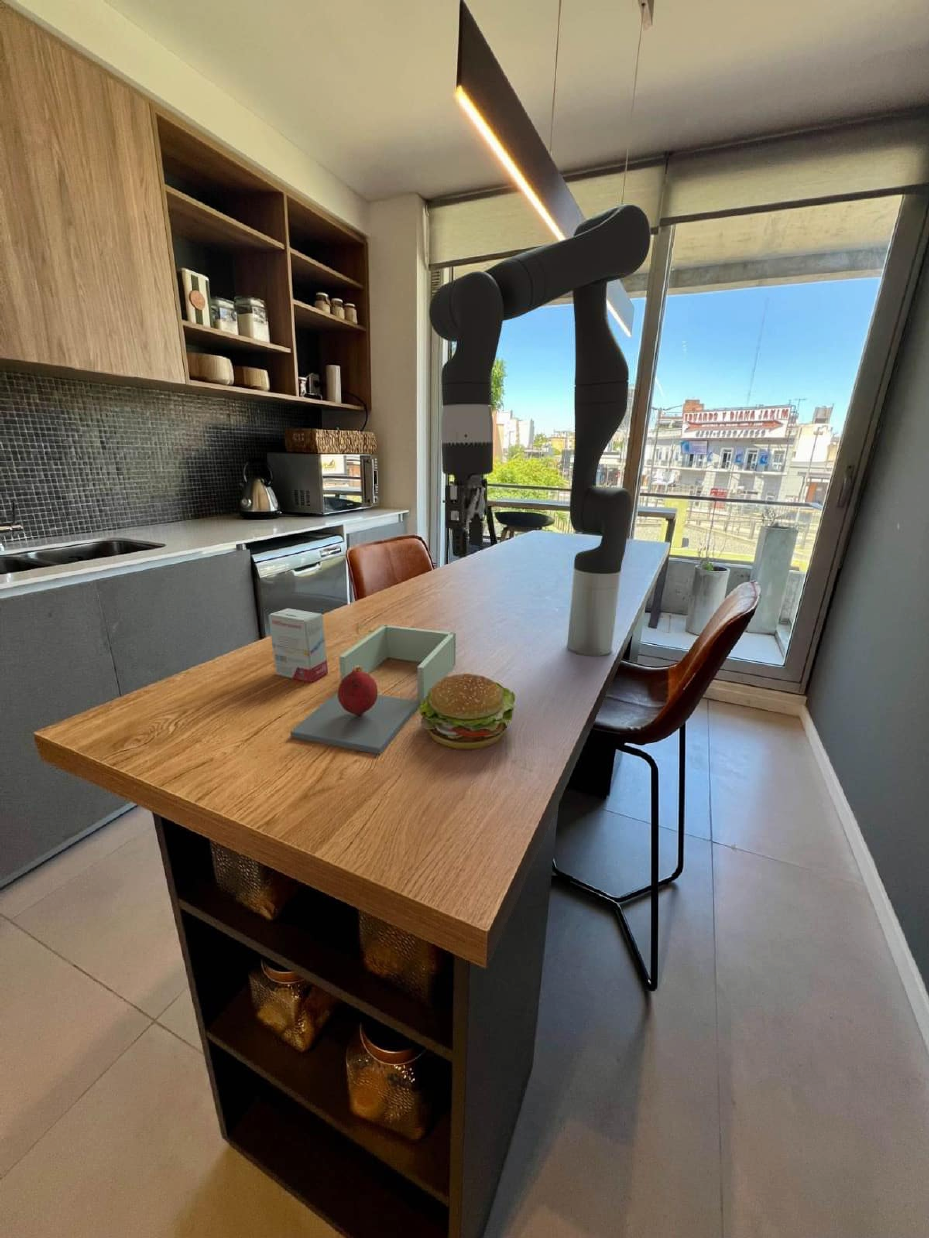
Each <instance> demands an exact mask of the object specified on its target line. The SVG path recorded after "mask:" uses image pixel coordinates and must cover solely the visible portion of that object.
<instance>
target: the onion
mask: <svg viewBox="0 0 929 1238" xmlns="http://www.w3.org/2000/svg"><path fill="white" fill-rule="evenodd" d="M361 669H362V667H360V666H355V667H354V669H353V670H352V672H351V673H350V674H348V675H347V676H345V677H344V679H343V680H342V681H341V680H340V683H339V686H338V689H337V692H338V700H339V702H340V704H341V705H342V707H343V708H344V709H345V710H346V711H348V712H350V713H352V714H355V715H358V716H360V715H363V713H365V712H366V711H368V710H369V709H370V708H371V707H372V706H373V705H374V704H375V702H376V700H377V695H379V693H378V685H377V683H376V680H374V678H373V677H372V676H370V675H369V674H366V673H364V672H362V670H361Z"/></svg>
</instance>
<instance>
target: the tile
mask: <svg viewBox="0 0 929 1238" xmlns="http://www.w3.org/2000/svg"><path fill="white" fill-rule="evenodd" d="M419 707H420V704H419V701H418V700H414V699H413V700H412V699H407V698H401V697H400V698H399V697H393V696H387V695H381V694H378V695H377V700H376V702H375V704H374V705H373V706H372V707H371V708H370V709H369V710H368V711H366V712H365V713H363V715H360V716H358V715H355V714H352V713H350V712H348V711H346V710H345V709H344V708H343V707H342V705H341V704H340V702H339V700H338V691H337V692H336V693H334V694H333V695H332V696H331V697H330V698H329V699H327V700H326V701H325V702H323V704H321V705H320V706H319V707H318V708H317V709H315V710H314V711H313V712H312V713H310V714H309V715H308V716H307V717H306V718H305V719H302V721H301V722H300V723H298V724H297V725H296V726H295V727H294V728H293V729H291V730H290V731H289V733H290V738H291V737H293V739H297V740H301V739H302V740H303V741H306V742H312V743H318V744H322V745H328V746H332V747H339V748H342V749H350V750H354V751H358V752H364V753H369V754H375V755H378V756H379V755H381V754H382V753H383V752H384V751H385V750H386V748H387V747H388V746H389V745H390V744H391V742H392V740H394V739H395V737H396V736H397V735H398V733H399V732H401V730H402V729H403V727H404V726H405V724H406V723H407V722H408V721H409V720H410V718H411V717H413V715H414V713H415V712H416V711H418V710H417V709H418V708H419Z"/></svg>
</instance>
